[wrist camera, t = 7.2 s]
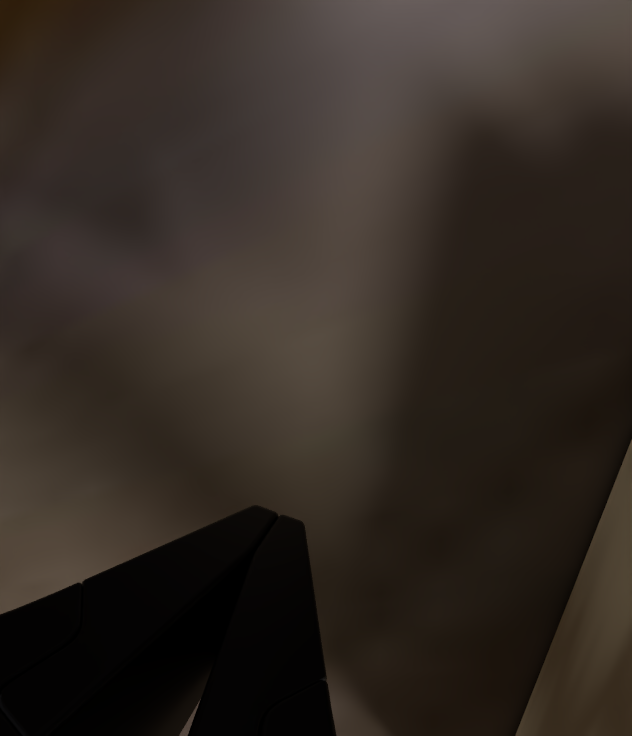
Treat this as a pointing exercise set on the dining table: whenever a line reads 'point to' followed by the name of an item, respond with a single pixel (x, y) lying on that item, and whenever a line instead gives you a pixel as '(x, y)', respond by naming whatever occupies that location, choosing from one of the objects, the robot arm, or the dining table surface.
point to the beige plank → (593, 636)
